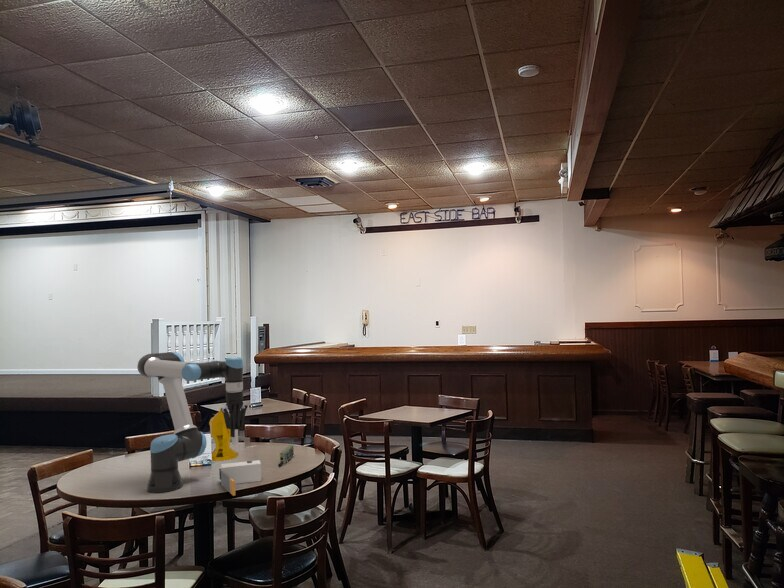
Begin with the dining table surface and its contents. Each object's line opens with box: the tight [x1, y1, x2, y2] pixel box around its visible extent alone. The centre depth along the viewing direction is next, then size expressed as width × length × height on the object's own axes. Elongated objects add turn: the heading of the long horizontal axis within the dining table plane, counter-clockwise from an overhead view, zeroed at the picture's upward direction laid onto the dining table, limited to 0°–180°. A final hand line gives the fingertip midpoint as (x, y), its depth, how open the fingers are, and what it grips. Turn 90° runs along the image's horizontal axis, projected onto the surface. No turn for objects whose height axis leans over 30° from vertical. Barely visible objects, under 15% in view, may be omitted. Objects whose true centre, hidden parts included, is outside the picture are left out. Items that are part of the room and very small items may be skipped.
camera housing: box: [218, 459, 262, 485], centre depth 272 cm, size 19×8×9 cm, turn 107°
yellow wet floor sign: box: [208, 407, 239, 462], centre depth 325 cm, size 18×24×28 cm
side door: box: [220, 470, 236, 497], centre depth 254 cm, size 23×1×6 cm, turn 29°
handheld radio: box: [277, 444, 295, 467], centre depth 309 cm, size 7×3×25 cm
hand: (235, 443), depth 259 cm, fingers closed
